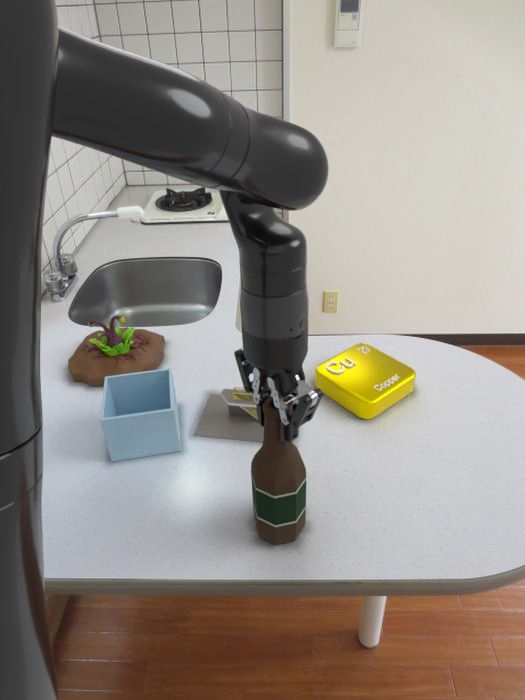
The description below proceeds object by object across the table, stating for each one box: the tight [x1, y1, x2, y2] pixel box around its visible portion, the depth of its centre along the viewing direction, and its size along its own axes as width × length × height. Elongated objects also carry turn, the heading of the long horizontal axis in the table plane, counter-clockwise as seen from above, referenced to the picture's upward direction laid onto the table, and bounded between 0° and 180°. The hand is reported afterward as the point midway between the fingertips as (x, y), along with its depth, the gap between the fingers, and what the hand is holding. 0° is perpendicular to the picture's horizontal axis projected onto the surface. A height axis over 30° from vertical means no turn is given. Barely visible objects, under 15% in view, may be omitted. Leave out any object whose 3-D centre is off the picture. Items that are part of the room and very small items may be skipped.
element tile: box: [314, 342, 417, 420], centre depth 104 cm, size 15×15×5 cm
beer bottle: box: [250, 396, 307, 546], centre depth 72 cm, size 8×8×24 cm
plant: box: [67, 315, 166, 387], centre depth 113 cm, size 20×20×11 cm
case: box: [99, 367, 182, 462], centre depth 94 cm, size 12×12×10 cm
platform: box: [193, 386, 294, 443], centre depth 97 cm, size 12×18×7 cm, turn 80°
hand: (277, 430), depth 68 cm, fingers closed on beer bottle, 4 cm apart
